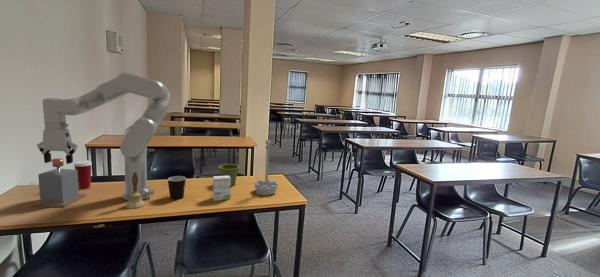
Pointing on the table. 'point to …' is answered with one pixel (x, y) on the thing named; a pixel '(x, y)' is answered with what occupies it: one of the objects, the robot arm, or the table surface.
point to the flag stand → (266, 178)
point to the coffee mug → (176, 187)
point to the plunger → (57, 163)
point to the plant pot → (229, 171)
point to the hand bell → (135, 195)
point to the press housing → (58, 188)
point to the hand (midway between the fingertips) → (58, 162)
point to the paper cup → (83, 174)
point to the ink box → (221, 187)
